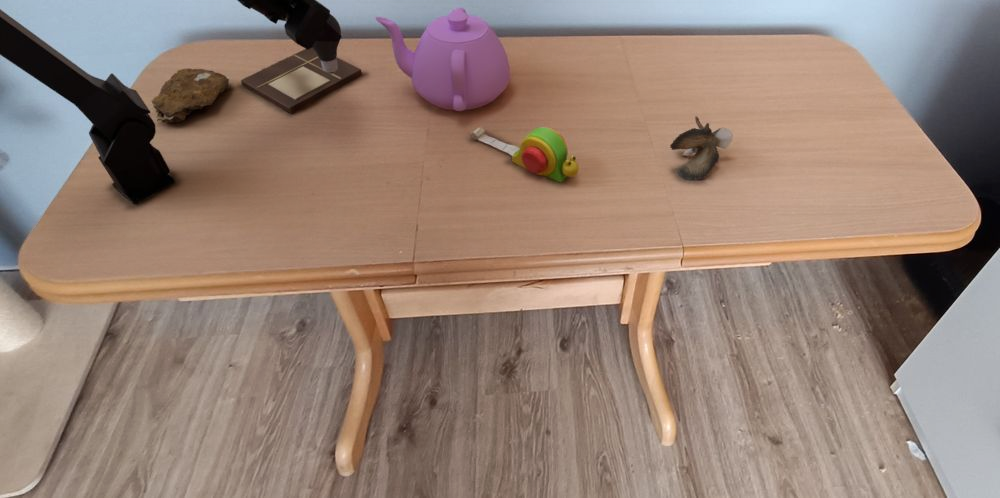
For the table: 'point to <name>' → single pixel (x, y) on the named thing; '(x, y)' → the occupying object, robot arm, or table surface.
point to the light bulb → (328, 49)
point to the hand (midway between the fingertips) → (330, 31)
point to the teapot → (454, 61)
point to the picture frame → (299, 80)
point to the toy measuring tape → (537, 153)
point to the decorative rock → (188, 93)
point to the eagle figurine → (701, 149)
